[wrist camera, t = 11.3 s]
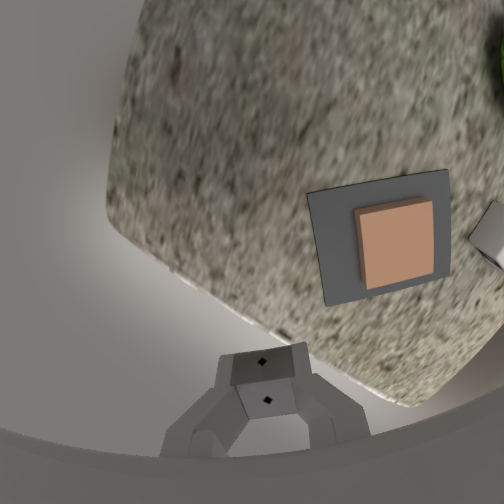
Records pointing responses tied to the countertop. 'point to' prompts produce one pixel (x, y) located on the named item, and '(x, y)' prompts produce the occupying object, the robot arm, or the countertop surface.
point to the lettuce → (502, 58)
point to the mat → (345, 234)
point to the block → (395, 241)
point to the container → (491, 236)
